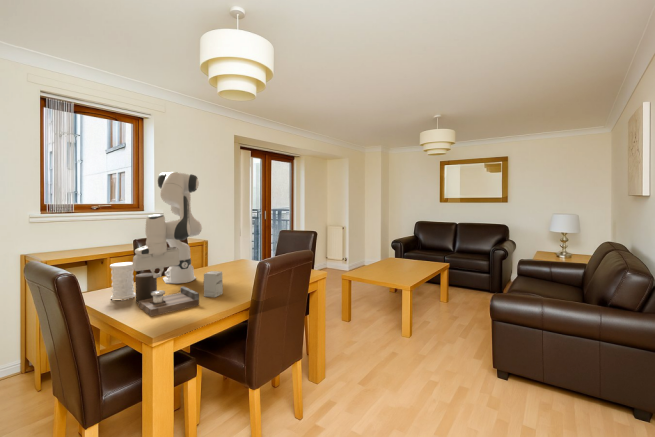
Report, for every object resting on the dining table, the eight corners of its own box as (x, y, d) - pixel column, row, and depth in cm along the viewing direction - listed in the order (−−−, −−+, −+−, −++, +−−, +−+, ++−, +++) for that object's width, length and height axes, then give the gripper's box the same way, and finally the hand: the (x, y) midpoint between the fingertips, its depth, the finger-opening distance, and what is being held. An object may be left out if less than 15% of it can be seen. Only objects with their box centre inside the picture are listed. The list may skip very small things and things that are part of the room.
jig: (138, 306, 162) (138, 294, 162) (184, 297, 178) (184, 286, 177) (151, 316, 149) (150, 303, 149) (199, 305, 165) (198, 293, 165)
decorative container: (136, 298, 176) (135, 264, 175) (110, 302, 170) (109, 267, 169) (135, 293, 186) (134, 261, 185) (110, 296, 179) (109, 263, 178)
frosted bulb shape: (149, 308, 160) (149, 292, 160) (162, 305, 164) (162, 289, 164) (154, 311, 156) (153, 294, 155) (167, 308, 160) (166, 292, 160)
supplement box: (216, 297, 178) (215, 274, 177) (203, 296, 179) (203, 273, 178) (223, 293, 185) (222, 271, 184) (211, 293, 186) (210, 270, 186)
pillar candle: (145, 304, 166) (145, 274, 165) (131, 302, 169) (130, 273, 168) (161, 299, 175) (161, 271, 174) (147, 297, 178) (147, 269, 177)
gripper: (176, 245, 168) (177, 272, 169) (130, 250, 153) (131, 279, 154) (181, 247, 163) (182, 274, 164) (134, 251, 149) (136, 282, 150)
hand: (157, 277), depth 159 cm, fingers closed
